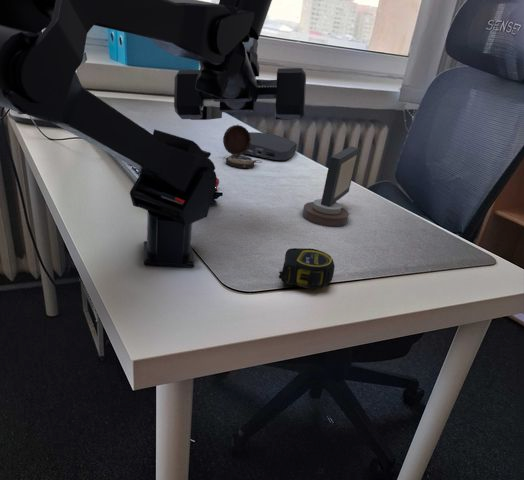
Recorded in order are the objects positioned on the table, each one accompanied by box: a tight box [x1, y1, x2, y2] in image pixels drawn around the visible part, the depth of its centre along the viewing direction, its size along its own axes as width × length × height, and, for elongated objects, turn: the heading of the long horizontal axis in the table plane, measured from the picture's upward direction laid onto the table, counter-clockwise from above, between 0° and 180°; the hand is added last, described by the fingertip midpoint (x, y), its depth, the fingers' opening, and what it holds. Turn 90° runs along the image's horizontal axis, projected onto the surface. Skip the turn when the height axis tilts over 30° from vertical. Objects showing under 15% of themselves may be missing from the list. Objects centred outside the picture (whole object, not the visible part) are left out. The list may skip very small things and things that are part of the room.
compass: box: [222, 124, 263, 169], centre depth 110 cm, size 8×8×7 cm
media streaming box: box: [244, 131, 298, 161], centre depth 123 cm, size 15×15×3 cm
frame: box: [312, 145, 360, 215], centre depth 90 cm, size 12×5×9 cm, turn 154°
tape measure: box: [278, 247, 336, 290], centre depth 67 cm, size 7×7×4 cm
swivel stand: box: [302, 201, 350, 228], centre depth 90 cm, size 8×8×2 cm
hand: (249, 114), depth 81 cm, fingers open, 9 cm apart
